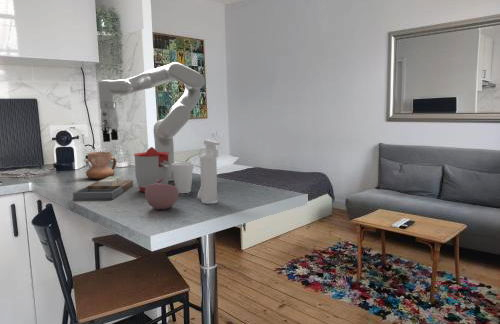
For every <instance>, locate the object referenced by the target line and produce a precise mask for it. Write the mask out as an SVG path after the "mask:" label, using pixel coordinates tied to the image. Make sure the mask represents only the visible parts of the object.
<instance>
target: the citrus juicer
mask: <svg viewBox="0 0 500 324" xmlns="http://www.w3.org/2000/svg"><path fill="white" fill-rule="evenodd" d="M133 156H134V169H135V170H134V172H135V180H136V184H137V187H138V189H139V191H140V192H143V193H145V189H146V186H148V185H151V184H156V181H157V180H159V179H161V178H163V181H161V182H160V183H159V184H167V185H168V184H169V182H170V181H169V166H170V163H169V153H167V152H157V151H156V150H155V147H153V146H151V147H149V148H148V149H147V150H146V152H137V153H134V154H133Z"/></svg>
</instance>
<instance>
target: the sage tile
mask: <svg viewBox="0 0 500 324" xmlns="http://www.w3.org/2000/svg"><path fill="white" fill-rule="evenodd" d="M105 179H117V183H118V182H120V181H122V180H123V177H122V175H120V176H119V175H117V176H114V175H113V176H109V177H107V178H105Z"/></svg>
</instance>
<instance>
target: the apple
mask: <svg viewBox="0 0 500 324" xmlns="http://www.w3.org/2000/svg"><path fill="white" fill-rule="evenodd" d="M161 181H163V178H161V179H159V180H157V181H156V184H151V185H148V186H146V189H145V192H144V197H145V200H146V202H147V203H148V205H149V206H150V207H152V208H153V209H156V210H159V209H164V210H168V209H169V208H172V207H173V206H174V205H175V203H176V202H177V200H178V199H179V198H178V197H179V194H178V188H177V187H175V185H172V184H169V183H168V185H167V184H159V183H160V182H161Z"/></svg>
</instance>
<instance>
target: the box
mask: <svg viewBox="0 0 500 324" xmlns="http://www.w3.org/2000/svg"><path fill="white" fill-rule="evenodd" d="M120 194H121V195H122V194H124V193H123V189H122V186H120V187H119V188H117V189H88V187H87V186H85V187H83V188H80V189H79V190H77V191H74V192H73V193H72V197H73V199H72V200H73V201H113V200H115V199H116V198H117V197H119V196H121V195H120Z"/></svg>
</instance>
